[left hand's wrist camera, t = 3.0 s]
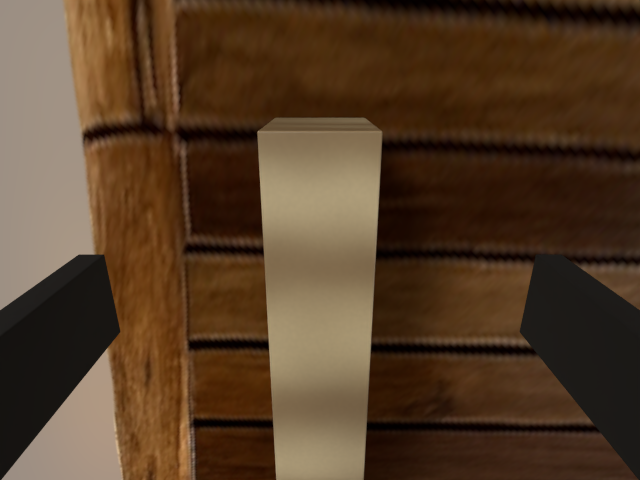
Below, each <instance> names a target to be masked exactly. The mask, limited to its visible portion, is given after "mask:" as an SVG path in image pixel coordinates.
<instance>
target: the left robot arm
mask: <svg viewBox="0 0 640 480" xmlns="http://www.w3.org/2000/svg"><path fill="white" fill-rule="evenodd" d="M119 333H120V328H119V323H118V319H117V314H116V309H115V304H114V300H113V295H112V290H111V285H110V281H109V276H108V271H107V266H106V262H105V257H104V255H78V256H76V257H75V258H74V259H72V260H71V261H69V262H68V263H66V264H65V265H64V266H62V267H61V268H59V269H58V270H57V271H55V272H54V273H52V274H51V275H50V276H48V277H47V278H45V279H44V280H42V281H41V282H40V283H38V284H37V285H35V286H34V287H33V288H31V289H30V290H28V291H27V292H26V293H24V294H23V295H21V296H20V297H18V298H17V299H16V300H14V301H13V302H11V303H10V304H9V305H7V306H6V307H4V308H3V309H2V310H0V480H1V479H2V478H3V477H4V476H5V474H6V473H7V472H8V471H9V469H10V468H11V467H12V466H13V464H14V463H15V462H16V461H17V459H18V458H19V457H20V456H21V454H22V453H23V452H24V451H25V449H26V448H27V447H28V446H29V445H30V443H31V442H32V441H33V440H34V438H35V437H36V436H37V435H38V433H39V432H40V431H41V430H42V428H43V427H44V426H45V425H46V423H47V422H48V421H49V420H50V418H51V417H52V416H53V415H54V414H55V412H56V411H57V410H58V409H59V407H60V406H61V405H62V404H63V402H64V401H65V400H66V399H67V397H68V396H69V395H70V394H71V392H72V391H73V390H74V389H75V387H76V386H77V385H78V384H79V382H80V381H81V380H82V379H83V377H84V376H85V375H86V374H87V373H88V371H89V370H90V369H91V368H92V366H93V365H94V364H95V363H96V361H97V360H98V359H99V358H100V356H101V355H102V354H103V353H104V351H105V350H106V349H107V348H108V346H109V345H110V344H111V343H112V342H113V340H114V339H115V338H116V337H117V335H118V334H119ZM520 333H521V334H522V335H523V337H524V338H525V339H526V340H527V342H528V343H529V344H530V345H531V346H532V348H533V349H534V350H535V351H536V353H537V354H538V355H539V356H540V358H541V359H542V360H543V361H544V363H545V364H546V365H547V366H548V368H549V369H550V370H551V371H552V373H553V374H554V375H555V376H556V378H557V379H558V380H559V381H560V382H561V384H562V385H563V386H564V387H565V389H566V390H567V391H568V392H569V394H570V395H571V396H572V397H573V399H574V400H575V401H576V402H577V404H578V405H579V406H580V407H581V409H582V410H583V411H584V412H585V414H586V415H587V416H588V417H589V418H590V420H591V421H592V422H593V423H594V425H595V426H596V427H597V428H598V430H599V431H600V432H601V433H602V435H603V436H604V437H605V438H606V440H607V441H608V442H609V443H610V445H611V446H612V447H613V448H614V450H615V451H616V452H617V453H618V455H619V456H620V457H621V458H622V459H623V461H624V462H625V463H626V464H627V466H628V467H629V468H630V469H631V471H632V472H633V473H634V474H635V476H636V477H637V478H638V479H639V480H640V310H639V309H637V308H636V307H634V306H633V305H631V304H630V303H629V302H627V301H626V300H624V299H623V298H622V297H620V296H619V295H617V294H616V293H615V292H613V291H612V290H610V289H609V288H607V287H606V286H605V285H603V284H602V283H600V282H599V281H598V280H596V279H595V278H593V277H592V276H591V275H589V274H588V273H586V272H585V271H583V270H582V269H581V268H579V267H578V266H576V265H575V264H574V263H572V262H571V261H569V260H568V259H567V258H565V257H564V256H562V255H536V257H535V262H534V266H533V271H532V276H531V281H530V285H529V290H528V295H527V300H526V304H525V309H524V314H523V319H522V323H521V328H520Z"/></svg>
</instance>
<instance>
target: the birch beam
mask: <svg viewBox="0 0 640 480" xmlns="http://www.w3.org/2000/svg"><path fill="white" fill-rule="evenodd" d="M257 134H258V152H259V170H260V189H261V207H262V225H263V244H264V262H265V280H266V299H267V317H268V335H269V354H270V372H271V390H272V409H273V427H274V445H275V463H276V480H364V464H365V445H366V427H367V409H368V390H369V372H370V354H371V335H372V317H373V299H374V280H375V262H376V244H377V225H378V207H379V189H380V170H381V152H382V134H383V133H382V131H381V130H380V129H378V128H377V127H376V126H374V125H373V124H372V123H371V122H369V121H368V120H367V119H365V118H275V119H273V120H272V121H271V122H269V123H268V124H267V125H266V126H264V127H263V128H262V129H260V130H259V131H258V133H257Z"/></svg>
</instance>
